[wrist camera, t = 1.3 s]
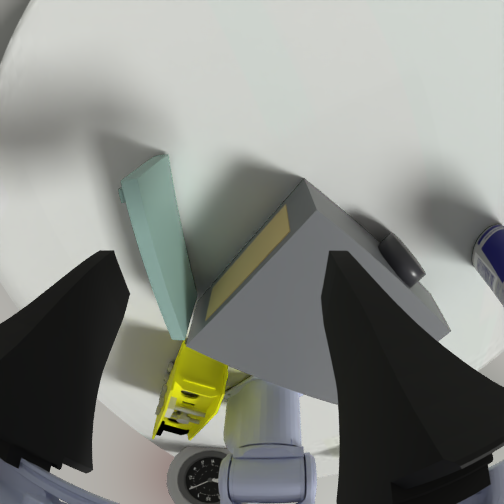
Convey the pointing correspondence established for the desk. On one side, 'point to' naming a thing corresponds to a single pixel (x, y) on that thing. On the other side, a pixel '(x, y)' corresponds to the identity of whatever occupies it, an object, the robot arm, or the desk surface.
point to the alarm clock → (196, 475)
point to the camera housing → (300, 294)
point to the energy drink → (491, 259)
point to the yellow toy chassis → (190, 393)
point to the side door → (161, 241)
